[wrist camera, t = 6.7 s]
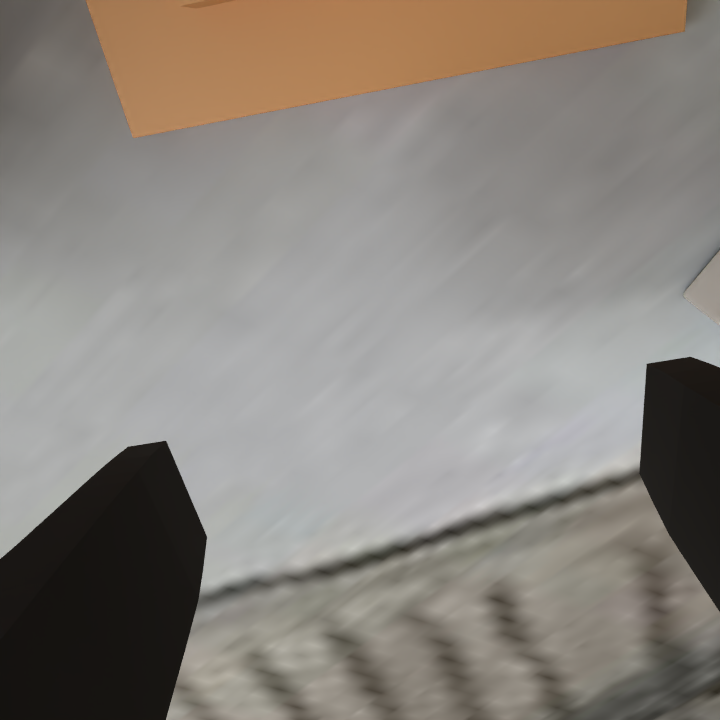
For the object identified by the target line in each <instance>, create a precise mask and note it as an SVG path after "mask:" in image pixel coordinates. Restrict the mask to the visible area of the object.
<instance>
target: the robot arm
mask: <svg viewBox="0 0 720 720" xmlns="http://www.w3.org/2000/svg"><path fill="white" fill-rule="evenodd" d="M640 475H641V478H642V480H643V482H644V484H645V486H646V488H647V490H648V493H649V495H650V497H651V499H652V501H653V503H654V505H655V507H656V509H657V511H658V513H659V515H660V517H661V519H662V521H663V523H664V525H665V527H666V529H667V531H668V533H669V535H670V536H671V538H672V540H673V541H674V543H675V544H676V546H677V547H678V549H679V551H680V552H681V554H682V555H683V557H684V558H685V560H686V561H687V563H688V564H689V566H690V567H691V569H692V570H693V572H694V574H695V575H696V577H697V578H698V580H699V581H700V583H701V584H702V586H703V587H704V589H705V590H706V592H707V593H708V595H709V596H710V598H711V599H712V601H713V602H714V604H715V605H716V607H717V608H718V610H719V611H720V368H719V367H717V366H714V365H712V364H709V363H706V362H704V361H701V360H698V359H695V358H692V357H687V358H680V359H674V360H668V361H662V362H655V363H649V364H647V369H646V384H645V399H644V414H643V429H642V444H641V459H640ZM206 540H207V536H206V534H205V531H204V529H203V527H202V524H201V522H200V519H199V517H198V515H197V512H196V510H195V508H194V505H193V503H192V501H191V498H190V496H189V494H188V491H187V489H186V487H185V484H184V482H183V480H182V477H181V475H180V472H179V470H178V468H177V465H176V463H175V461H174V458H173V456H172V454H171V451H170V449H169V447H168V444H167V442H166V441H162V442H156V443H149V444H143V445H137V446H131V447H127V448H126V449H125V450H123V451H122V452H121V453H119V454H118V455H117V456H116V457H114V458H113V459H112V460H111V461H110V462H108V463H107V464H106V465H105V466H104V467H103V468H101V469H100V470H99V471H98V472H97V473H96V474H95V475H94V476H92V477H91V478H90V479H89V480H88V481H87V482H86V483H85V484H84V485H82V486H81V487H80V488H79V489H78V490H77V491H76V492H75V493H74V494H72V495H71V496H70V497H69V498H68V499H67V500H66V501H65V502H64V503H63V504H61V505H60V506H59V507H58V508H57V509H56V510H55V511H54V512H53V513H52V514H50V515H49V516H48V517H47V518H46V519H45V520H44V521H43V522H42V523H40V524H39V525H38V526H37V527H36V528H35V529H34V530H33V531H32V532H31V533H29V534H28V535H27V536H26V537H25V538H24V539H23V540H22V541H21V542H19V543H18V544H17V545H16V546H15V547H14V548H13V549H12V550H10V551H9V552H8V553H7V554H6V555H5V556H3V557H2V558H1V559H0V720H166V717H167V713H168V710H169V706H170V702H171V699H172V695H173V692H174V688H175V684H176V681H177V677H178V674H179V670H180V666H181V663H182V659H183V656H184V652H185V648H186V645H187V641H188V637H189V633H190V630H191V626H192V622H193V618H194V615H195V611H196V607H197V603H198V599H199V592H200V586H201V579H202V573H203V565H204V557H205V549H206Z"/></svg>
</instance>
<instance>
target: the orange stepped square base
mask: <svg viewBox="0 0 720 720" xmlns="http://www.w3.org/2000/svg"><path fill="white" fill-rule="evenodd" d="M86 3H87V6H88V9H89V12H90V15H91V18H92V20H93V23H94V26H95V29H96V32H97V35H98V38H99V41H100V44H101V47H102V49H103V52H104V55H105V58H106V61H107V64H108V67H109V70H110V73H111V76H112V78H113V81H114V84H115V87H116V90H117V93H118V96H119V99H120V102H121V105H122V107H123V110H124V113H125V116H126V119H127V122H128V125H129V128H130V131H131V133H132V136H133V138H137V137H142V136H147V135H152V134H157V133H163V132H168V131H173V130H178V129H183V128H188V127H194V126H199V125H204V124H209V123H214V122H219V121H225V120H230V119H235V118H240V117H245V116H250V115H256V114H261V113H266V112H271V111H276V110H281V109H287V108H292V107H297V106H302V105H307V104H312V103H318V102H323V101H328V100H333V99H338V98H343V97H348V96H354V95H359V94H364V93H369V92H374V91H379V90H385V89H390V88H395V87H400V86H405V85H410V84H416V83H421V82H426V81H431V80H436V79H441V78H447V77H452V76H457V75H462V74H467V73H472V72H478V71H483V70H488V69H493V68H498V67H503V66H509V65H514V64H519V63H524V62H529V61H534V60H540V59H545V58H550V57H555V56H560V55H565V54H571V53H576V52H581V51H586V50H591V49H596V48H602V47H607V46H612V45H617V44H622V43H627V42H633V41H638V40H643V39H648V38H653V37H658V36H664V35H669V34H674V33H679V32H684V31H685V22H686V10H687V0H86Z"/></svg>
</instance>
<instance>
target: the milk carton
mask: <svg viewBox="0 0 720 720" xmlns="http://www.w3.org/2000/svg"><path fill="white" fill-rule="evenodd" d="M683 296H684V298H685V299H687V300H688V301H689V302H690V303H692V304H693V305H694V306H695V307H697V308H698V309H699V310H700V311H702V312H703V313H704V314H705V315H707V316H708V317H709V318H710V319H712V320H713V321H714V322H715V323H717V324H718V325H719V326H720V250H719V251H718V253H717V254H716V255H715V256H714V257H713V259H712V260H711V261H710V262H709V263H708V265H707V266H706V267H705V268H704V269H703V271H702V272H701V273H700V274H699V275H698V277H697V278H696V279H695V280H694V281H693V283H692V284H691V285H690V286H689V287H688V289H687V290H686V291H685V292H684V294H683Z"/></svg>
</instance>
